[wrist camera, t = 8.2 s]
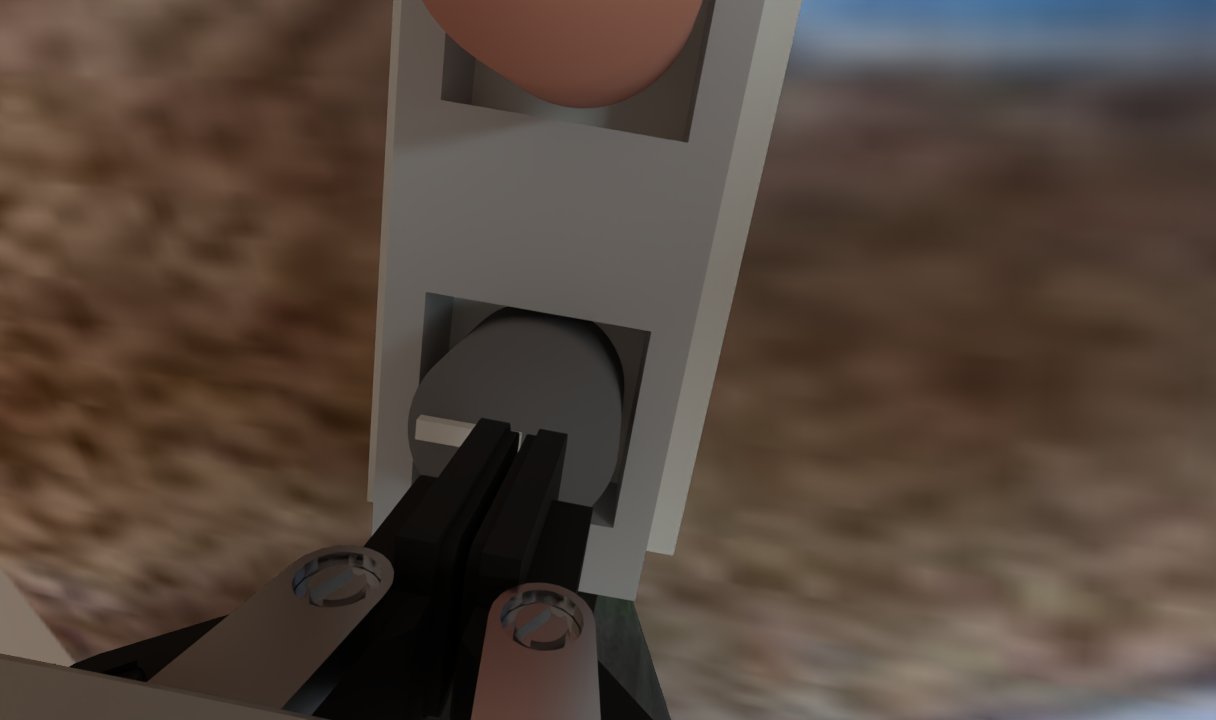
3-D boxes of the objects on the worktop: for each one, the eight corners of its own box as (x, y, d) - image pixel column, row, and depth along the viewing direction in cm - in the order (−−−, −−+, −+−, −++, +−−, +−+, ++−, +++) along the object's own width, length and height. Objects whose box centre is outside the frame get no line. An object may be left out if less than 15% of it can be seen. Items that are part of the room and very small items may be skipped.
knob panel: (915, -620, 14) (1116, -1209, 8) (668, 492, 24) (677, 608, 17) (497, -690, 15) (388, -1325, 8) (411, 447, 24) (328, 546, 17)
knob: (638, 317, 17) (636, 363, 13) (609, 473, 19) (599, 556, 15) (465, 286, 18) (410, 323, 13) (450, 444, 19) (396, 520, 15)
